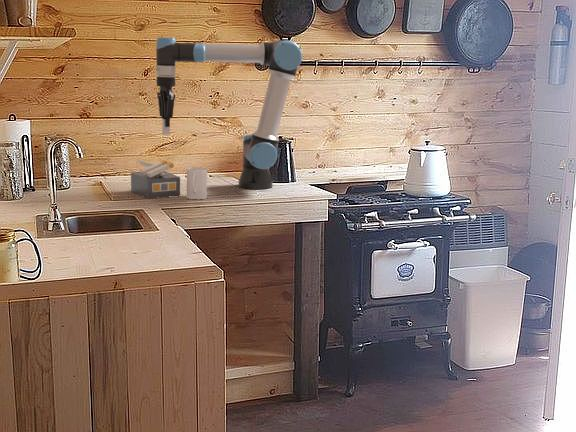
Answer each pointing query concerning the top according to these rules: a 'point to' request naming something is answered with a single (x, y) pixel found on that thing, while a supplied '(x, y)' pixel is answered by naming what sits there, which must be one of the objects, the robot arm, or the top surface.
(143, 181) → the control box
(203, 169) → the mug
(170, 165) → the rocker
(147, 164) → the rocker
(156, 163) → the rocker
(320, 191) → the top surface
